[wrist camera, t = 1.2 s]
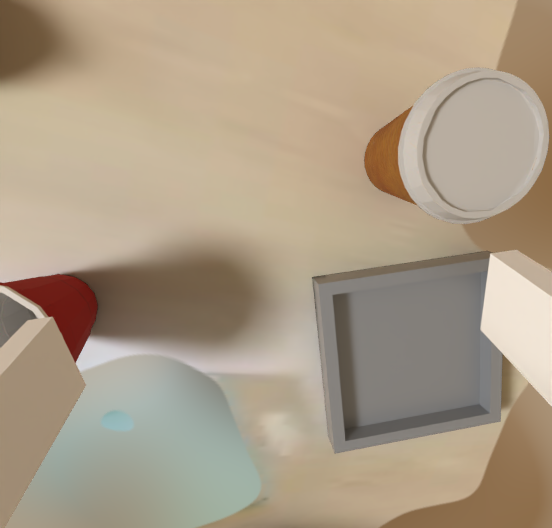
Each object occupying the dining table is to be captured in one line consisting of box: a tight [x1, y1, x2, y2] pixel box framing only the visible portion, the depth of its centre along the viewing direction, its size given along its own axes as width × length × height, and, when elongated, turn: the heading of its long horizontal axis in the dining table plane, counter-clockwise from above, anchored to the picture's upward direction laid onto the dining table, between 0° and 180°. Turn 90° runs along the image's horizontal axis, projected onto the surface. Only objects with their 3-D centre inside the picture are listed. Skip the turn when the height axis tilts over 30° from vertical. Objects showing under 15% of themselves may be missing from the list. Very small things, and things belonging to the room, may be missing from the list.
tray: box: [312, 251, 502, 453], centre depth 37 cm, size 18×18×2 cm
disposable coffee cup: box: [365, 68, 549, 224], centre depth 28 cm, size 10×10×12 cm
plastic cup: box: [0, 274, 98, 363], centre depth 27 cm, size 11×11×12 cm
